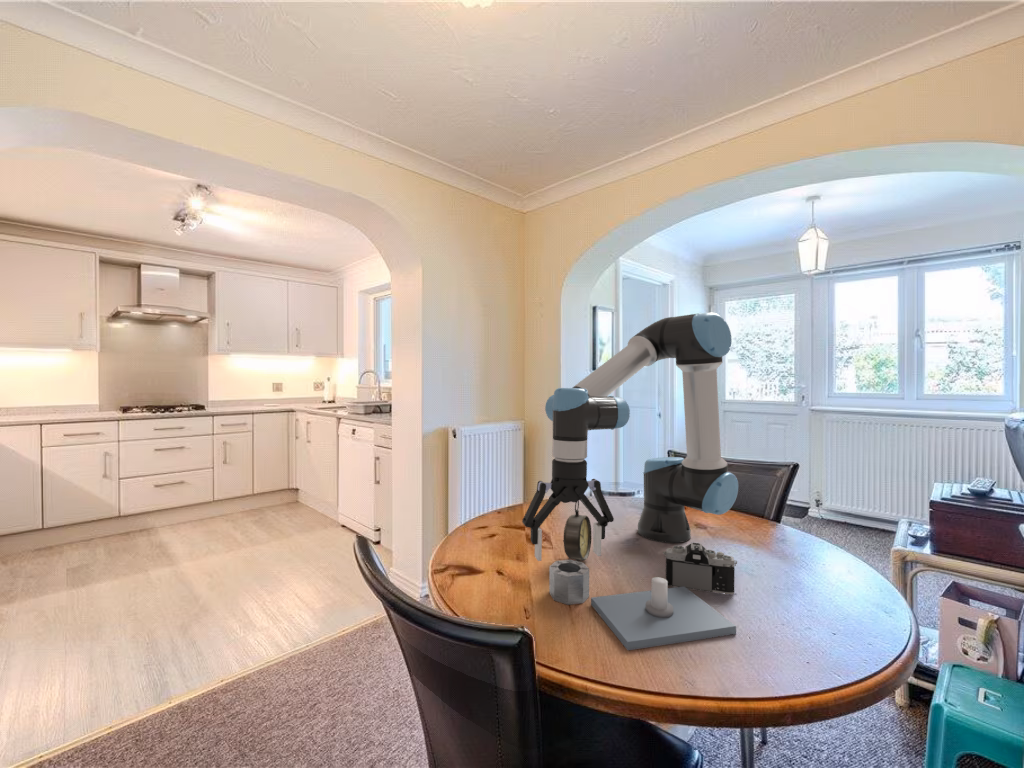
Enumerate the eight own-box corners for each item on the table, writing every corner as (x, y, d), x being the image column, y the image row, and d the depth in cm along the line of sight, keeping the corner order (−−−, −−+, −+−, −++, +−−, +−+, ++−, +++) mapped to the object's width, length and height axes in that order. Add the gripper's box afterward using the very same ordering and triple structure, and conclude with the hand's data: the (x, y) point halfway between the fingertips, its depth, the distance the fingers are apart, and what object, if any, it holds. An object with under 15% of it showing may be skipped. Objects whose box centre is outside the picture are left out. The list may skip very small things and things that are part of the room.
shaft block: (684, 593, 99) (684, 559, 98) (736, 634, 83) (736, 593, 83) (591, 604, 94) (591, 569, 93) (627, 650, 78) (627, 607, 78)
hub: (579, 584, 103) (579, 558, 102) (593, 601, 95) (593, 573, 95) (546, 588, 101) (546, 561, 101) (557, 606, 93) (557, 577, 93)
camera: (733, 581, 104) (734, 538, 104) (738, 599, 96) (739, 553, 96) (663, 571, 110) (664, 530, 110) (662, 587, 101) (663, 543, 101)
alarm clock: (580, 572, 109) (581, 506, 109) (559, 568, 111) (560, 503, 111) (592, 555, 119) (592, 495, 119) (573, 552, 121) (573, 492, 121)
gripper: (614, 454, 104) (613, 545, 104) (509, 457, 98) (508, 553, 98) (630, 460, 96) (628, 558, 97) (517, 463, 91) (516, 567, 91)
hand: (567, 556), depth 97 cm, fingers open, 13 cm apart
